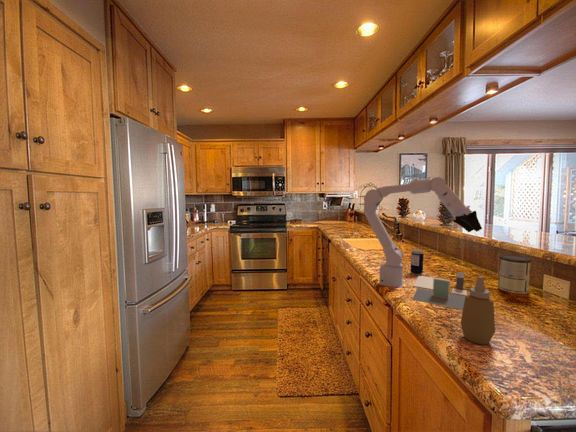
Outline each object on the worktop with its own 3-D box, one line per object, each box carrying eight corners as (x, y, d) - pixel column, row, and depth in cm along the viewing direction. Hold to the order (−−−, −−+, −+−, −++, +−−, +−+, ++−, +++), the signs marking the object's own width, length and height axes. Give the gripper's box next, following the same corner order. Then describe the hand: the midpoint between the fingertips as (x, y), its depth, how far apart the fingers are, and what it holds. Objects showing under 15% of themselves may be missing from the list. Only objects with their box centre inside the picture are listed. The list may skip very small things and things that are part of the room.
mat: (411, 301, 105) (411, 299, 105) (417, 289, 117) (417, 288, 117) (471, 313, 95) (471, 311, 95) (471, 299, 107) (471, 297, 107)
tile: (432, 295, 109) (433, 278, 108) (433, 294, 110) (433, 277, 109) (448, 298, 106) (449, 281, 105) (448, 297, 107) (449, 279, 106)
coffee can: (493, 284, 124) (496, 253, 123) (521, 287, 121) (524, 255, 120) (503, 292, 115) (505, 259, 113) (533, 295, 111) (536, 261, 110)
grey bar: (451, 294, 112) (452, 280, 111) (453, 284, 124) (454, 271, 124) (466, 297, 109) (467, 282, 108) (466, 286, 121) (467, 273, 121)
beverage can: (424, 275, 137) (425, 252, 136) (411, 275, 138) (412, 251, 137) (420, 272, 142) (422, 249, 141) (409, 271, 143) (410, 249, 142)
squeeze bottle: (453, 332, 81) (456, 273, 80) (478, 331, 82) (482, 272, 81) (473, 348, 73) (478, 282, 72) (502, 346, 74) (506, 281, 73)
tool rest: (413, 287, 119) (413, 285, 119) (418, 277, 134) (418, 275, 134) (433, 291, 115) (433, 289, 115) (437, 280, 129) (437, 278, 129)
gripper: (467, 193, 103) (493, 223, 100) (454, 199, 117) (476, 225, 114) (450, 204, 104) (475, 234, 101) (440, 208, 118) (461, 235, 115)
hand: (475, 230), depth 107 cm, fingers open, 7 cm apart
